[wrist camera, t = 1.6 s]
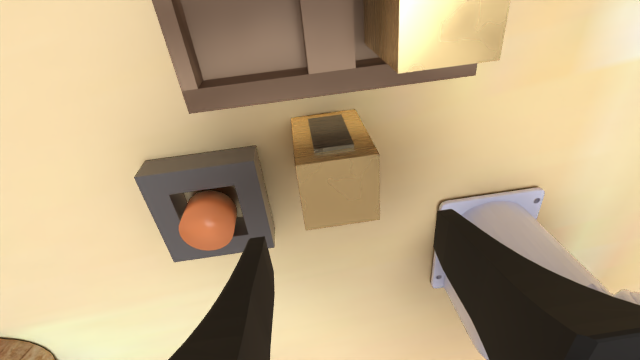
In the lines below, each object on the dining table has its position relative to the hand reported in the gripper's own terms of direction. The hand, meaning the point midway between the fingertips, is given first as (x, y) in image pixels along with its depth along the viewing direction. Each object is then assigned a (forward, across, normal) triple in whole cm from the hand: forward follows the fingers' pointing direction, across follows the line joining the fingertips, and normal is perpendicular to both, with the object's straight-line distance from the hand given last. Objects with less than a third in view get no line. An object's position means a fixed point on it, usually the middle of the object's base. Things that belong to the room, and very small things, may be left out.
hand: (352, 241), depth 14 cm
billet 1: (+10, 0, 0) cm, 10 cm away
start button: (+8, +8, +3) cm, 12 cm away
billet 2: (+8, -4, -8) cm, 12 cm away
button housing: (+9, +8, +3) cm, 13 cm away
